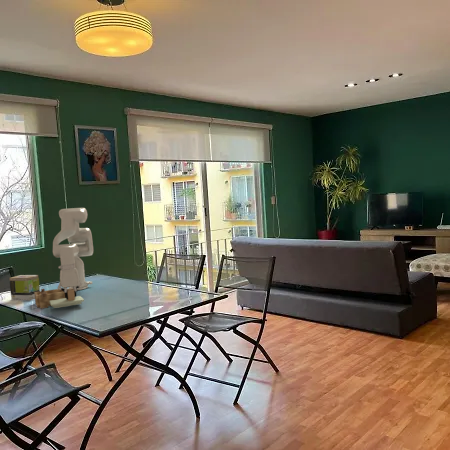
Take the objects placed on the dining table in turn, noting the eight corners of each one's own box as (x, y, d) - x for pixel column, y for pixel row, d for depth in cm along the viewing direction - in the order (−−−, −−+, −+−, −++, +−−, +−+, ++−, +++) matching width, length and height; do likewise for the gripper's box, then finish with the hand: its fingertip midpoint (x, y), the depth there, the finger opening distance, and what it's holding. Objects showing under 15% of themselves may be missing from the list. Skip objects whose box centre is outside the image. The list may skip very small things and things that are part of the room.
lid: (80, 300, 269) (79, 286, 268) (84, 303, 258) (83, 289, 258) (49, 305, 260) (48, 290, 260) (51, 309, 250) (50, 294, 250)
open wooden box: (66, 298, 281) (65, 286, 280) (70, 303, 267) (69, 290, 266) (35, 303, 273) (34, 290, 272) (38, 309, 259) (36, 295, 258)
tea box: (41, 297, 290) (39, 274, 289) (29, 301, 281) (27, 277, 279) (22, 296, 295) (20, 274, 294) (10, 300, 286) (8, 277, 284)
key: (44, 293, 262) (44, 288, 261) (46, 296, 253) (46, 291, 253) (41, 293, 261) (40, 288, 261) (42, 297, 252) (42, 291, 252)
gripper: (53, 270, 252) (56, 302, 253) (84, 266, 259) (86, 297, 261) (52, 268, 258) (54, 299, 260) (81, 264, 266) (84, 294, 267)
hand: (70, 298), depth 260 cm, fingers closed on lid, 3 cm apart
